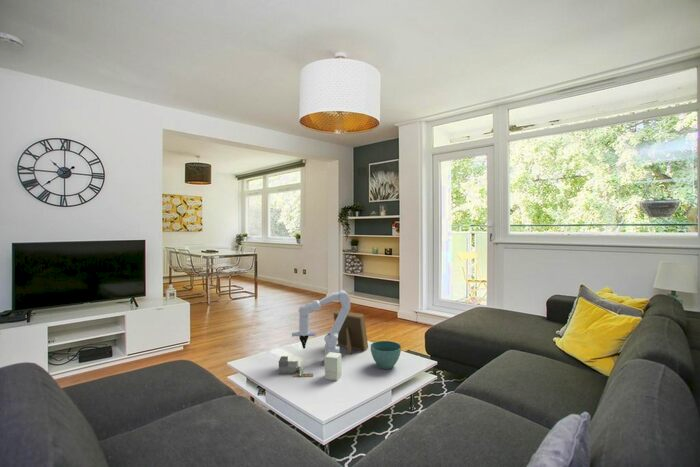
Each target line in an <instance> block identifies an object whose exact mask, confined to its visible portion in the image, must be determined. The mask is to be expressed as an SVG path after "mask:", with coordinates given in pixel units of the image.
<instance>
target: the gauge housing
mask: <svg viewBox="0 0 700 467" xmlns="http://www.w3.org/2000/svg"><path fill="white" fill-rule="evenodd" d="M297 367H299V366H298V361H296V360H294V361H292V360H291V361H289V356H288V355H287V356H283V355H282V356H280V358H279V360H278V375H293V374H297V371H298V369H297Z"/></svg>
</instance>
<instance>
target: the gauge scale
mask: <svg viewBox="0 0 700 467" xmlns="http://www.w3.org/2000/svg"><path fill="white" fill-rule="evenodd" d="M313 376H314V373H313V372H312V373H301V376H300V373H296V374H292V378H310V377H311V378H313Z"/></svg>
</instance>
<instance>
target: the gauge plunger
mask: <svg viewBox="0 0 700 467" xmlns="http://www.w3.org/2000/svg"><path fill="white" fill-rule="evenodd" d="M304 363H305V361H300V364H299V366H298V367H297V370H299V374H300V376H301V374H304V373H303V372H304V367H305V366H304V365H305V364H304Z"/></svg>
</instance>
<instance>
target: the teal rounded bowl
mask: <svg viewBox="0 0 700 467" xmlns="http://www.w3.org/2000/svg"><path fill="white" fill-rule="evenodd" d="M369 345H370V352H371V356H372V359H373V361H374V362H375V364H376V365H377V366H378V367H379V368H380V369H384V370H389V369H392V368H394V366H395V365H396V363H397V362H398V361H399V359H400V355H401V352H402V346H401V344H400V343H398V342H395V341H389V340H379V341H375V342H372V343H370V344H369Z"/></svg>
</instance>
